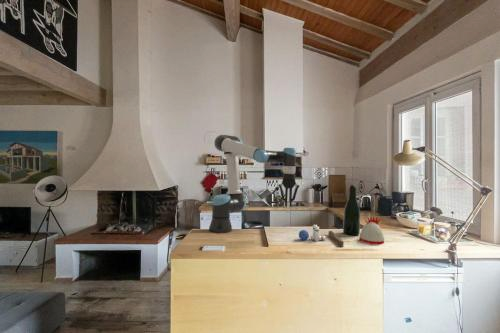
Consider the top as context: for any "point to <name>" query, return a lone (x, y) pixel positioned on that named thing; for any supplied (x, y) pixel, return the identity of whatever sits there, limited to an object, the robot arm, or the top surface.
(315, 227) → the back right pin
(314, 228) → the back left pin
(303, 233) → the ball
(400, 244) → the top surface
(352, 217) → the green wine bottle
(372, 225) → the spiked dome hat
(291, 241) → the top surface
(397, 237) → the top surface
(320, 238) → the front pin
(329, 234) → the back wall
